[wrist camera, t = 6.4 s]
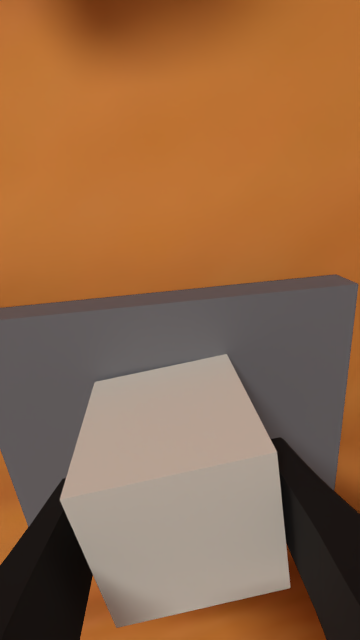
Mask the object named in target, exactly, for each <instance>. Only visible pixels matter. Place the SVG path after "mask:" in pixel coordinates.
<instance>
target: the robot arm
mask: <svg viewBox="0 0 360 640" xmlns="http://www.w3.org/2000/svg"><path fill="white" fill-rule="evenodd" d="M271 441H272V443H273V445H274V447H275V449H276V451H277V456H278V466H279V477H280V487H281V497H282V507H283V517H284V527H285V537H286V543H287V545H288V548H289V550H290V552H291V555H292V557H293V559H294V562H295V564H296V566H297V569H298V571H299V573H300V576H301V578H302V580H303V583H304V585H305V587H306V589H307V592H308V594H309V596H310V599H311V601H312V603H313V606H314V608H315V610H316V613H317V615H318V618H319V621H320V623H321V626H322V628H323V631H324V633H325V636H326V639H327V640H360V514H359V513H358V512H357V511H356V510H355V509H353V508H352V507H351V506H350V505H349V504H348V503H347V502H346V501H344V500H343V499H342V498H341V497H340V496H339V495H338V494H337V493H336V492H335V491H334V490H333V489H332V488H330V487H329V486H328V485H327V484H326V483H325V482H324V481H323V480H322V479H321V478H320V477H319V476H318V475H317V474H316V473H315V472H314V471H313V470H312V469H311V468H310V467H309V466H308V465H307V464H306V463H305V462H304V461H303V460H302V459H301V458H300V457H299V456H298V454H297V453H296V452H295V451H294V450H293V449H292V448H291V447H290V446H289V445H288V443H287V442H286V441H285V440H284V439H283V438H281V437H279V438H273V439H271ZM65 480H66V478H64V479H62V480H61V482H60V483H59V485H58V486H57V487H56V489H55V490H54V491H53V493H52V494H51V496H50V497H49V499H48V500H47V502H46V503H45V504H44V506H43V507H42V509H41V510H40V512H39V513H38V514H37V516H36V517H35V519H34V520H33V522H32V523H31V524H30V526H29V527H28V529H27V530H26V531H25V533H24V534H23V535H22V537H21V538H20V540H19V541H18V542H17V544H16V545H15V547H14V548H13V549H12V551H11V552H10V553H9V555H8V556H7V557H6V559H5V560H4V561H3V563H2V564H1V565H0V640H80V636H81V631H82V626H83V621H84V616H85V611H86V606H87V601H88V596H89V591H90V586H91V581H92V576H93V574H92V571H91V569H90V567H89V565H88V562H87V560H86V558H85V556H84V553H83V551H82V549H81V547H80V545H79V542H78V540H77V538H76V536H75V533H74V531H73V529H72V527H71V524H70V522H69V520H68V518H67V515H66V513H65V511H64V509H63V506H62V504H61V502H60V497H61V493H62V490H63V487H64V483H65Z"/></svg>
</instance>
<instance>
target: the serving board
mask: <svg viewBox="0 0 360 640" xmlns="http://www.w3.org/2000/svg"><path fill="white" fill-rule="evenodd" d="M357 291H358V284H357V283H355V282H353V281H350V280H348V279H346V278H343V277H341V276H338V275H327V276H317V277H307V278H297V279H287V280H277V281H267V282H257V283H247V284H237V285H227V286H217V287H207V288H197V289H187V290H177V291H166V292H156V293H146V294H136V295H126V296H116V297H106V298H96V299H86V300H76V301H66V302H56V303H46V304H36V305H26V306H16V307H6V308H0V449H1V452H2V455H3V458H4V460H5V463H6V466H7V469H8V472H9V474H10V477H11V480H12V483H13V485H14V488H15V491H16V494H17V496H18V499H19V502H20V505H21V507H22V510H23V513H24V516H25V518H26V521H27V524H28V527H29V526H30V524H31V523H32V522H33V520H34V519H35V517H36V516H37V514H38V513H39V512H40V510H41V509H42V507H43V506H44V504H45V503H46V502H47V500H48V499H49V497H50V496H51V494H52V493H53V491H54V490H55V489H56V487H57V486H58V485H59V483H60V482H61V480H62V479H64V478H66V477H67V473H68V470H69V466H70V463H71V460H72V456H73V453H74V450H75V446H76V443H77V440H78V436H79V433H80V430H81V426H82V423H83V419H84V416H85V413H86V409H87V406H88V403H89V399H90V396H91V393H92V389H93V386H94V383H95V382H97V381H102V380H106V379H111V378H116V377H121V376H125V375H130V374H135V373H139V372H144V371H149V370H154V369H158V368H163V367H168V366H172V365H177V364H182V363H187V362H191V361H196V360H201V359H205V358H210V357H215V356H220V355H224V354H227V355H228V357H229V359H230V361H231V363H232V365H233V367H234V369H235V371H236V373H237V375H238V377H239V379H240V381H241V383H242V385H243V387H244V389H245V391H246V392H247V394H248V396H249V398H250V400H251V402H252V404H253V406H254V408H255V410H256V412H257V414H258V416H259V418H260V420H261V422H262V424H263V426H264V428H265V429H266V431H267V433H268V435H269V437H270V439H273V438H279V437H281V438H283V439H284V440H285V441H286V442H287V443H288V445H289V446H290V447H291V448H292V449H293V450H294V451H295V452H296V453H297V454H298V456H299V457H300V458H301V459H302V460H303V461H304V462H305V463H306V464H307V465H308V466H309V467H310V468H311V469H312V470H313V471H314V472H315V473H316V474H317V475H318V476H319V477H320V478H321V479H322V480H323V481H324V482H325V483H326V484H327V485H328V486H329V487H330V488H332V489H333V490H334V489H335V480H336V472H337V463H338V454H339V446H340V437H341V429H342V420H343V411H344V403H345V394H346V386H347V377H348V368H349V360H350V351H351V343H352V334H353V325H354V317H355V308H356V299H357Z"/></svg>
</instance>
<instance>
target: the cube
mask: <svg viewBox="0 0 360 640" xmlns="http://www.w3.org/2000/svg"><path fill="white" fill-rule="evenodd" d="M60 502H61V504H62V506H63V509H64V511H65V513H66V515H67V518H68V520H69V522H70V524H71V527H72V529H73V531H74V533H75V536H76V538H77V540H78V542H79V545H80V547H81V549H82V551H83V553H84V556H85V558H86V560H87V562H88V565H89V567H90V569H91V571H92V574H93V576H94V578H95V580H96V583H97V585H98V587H99V589H100V592H101V594H102V596H103V598H104V601H105V603H106V605H107V607H108V610H109V612H110V614H111V616H112V619H113V621H114V623H115V625H116V628H118V627H122V626H127V625H131V624H135V623H140V622H144V621H149V620H153V619H157V618H162V617H166V616H170V615H175V614H179V613H184V612H188V611H192V610H197V609H201V608H205V607H210V606H214V605H219V604H223V603H227V602H232V601H236V600H241V599H245V598H249V597H254V596H258V595H262V594H267V593H271V592H276V591H280V590H284V589H289V588H290V578H289V568H288V558H287V547H286V537H285V527H284V517H283V507H282V497H281V487H280V477H279V466H278V456H277V451H276V449H275V447H274V445H273V443H272V441H271V439H270V437H269V435H268V433H267V431H266V429H265V428H264V426H263V424H262V422H261V420H260V418H259V416H258V414H257V412H256V410H255V408H254V406H253V404H252V402H251V400H250V398H249V396H248V394H247V392H246V391H245V389H244V387H243V385H242V383H241V381H240V379H239V377H238V375H237V373H236V371H235V369H234V367H233V365H232V363H231V361H230V359H229V357H228V355H227V354H224V355H220V356H215V357H210V358H205V359H201V360H196V361H191V362H187V363H182V364H177V365H172V366H168V367H163V368H158V369H154V370H149V371H144V372H139V373H135V374H130V375H125V376H121V377H116V378H111V379H106V380H102V381H97V382H95V383H94V386H93V389H92V393H91V396H90V399H89V403H88V406H87V409H86V413H85V416H84V419H83V423H82V426H81V430H80V433H79V436H78V440H77V443H76V446H75V450H74V453H73V456H72V460H71V463H70V466H69V470H68V473H67V477H66V480H65V483H64V487H63V490H62V493H61V497H60Z"/></svg>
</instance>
